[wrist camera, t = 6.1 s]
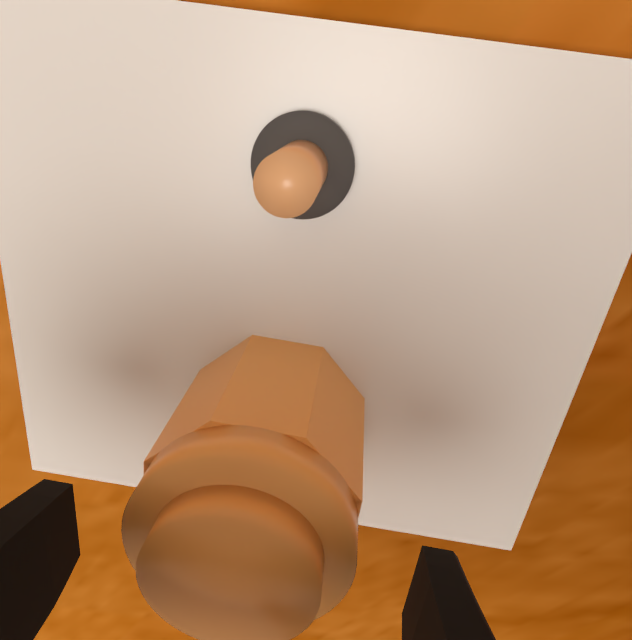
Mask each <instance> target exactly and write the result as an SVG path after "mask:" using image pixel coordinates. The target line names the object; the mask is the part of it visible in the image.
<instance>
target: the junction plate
mask: <svg viewBox="0 0 632 640" xmlns="http://www.w3.org/2000/svg"><path fill="white" fill-rule="evenodd" d="M631 253H632V59H627V58H619V57H611V56H604V55H596V54H588V53H580V52H573V51H565V50H557V49H549V48H542V47H534V46H526V45H518V44H511V43H503V42H495V41H487V40H480V39H472V38H464V37H456V36H449V35H441V34H433V33H425V32H418V31H410V30H402V29H394V28H387V27H379V26H371V25H363V24H356V23H348V22H340V21H332V20H325V19H317V18H309V17H302V16H294V15H286V14H278V13H271V12H263V11H255V10H247V9H240V8H232V7H224V6H216V5H209V4H201V3H193V2H185V1H178V0H0V261H1V267H2V274H3V280H4V287H5V293H6V300H7V307H8V313H9V320H10V326H11V333H12V339H13V346H14V352H15V359H16V365H17V372H18V379H19V385H20V392H21V398H22V405H23V411H24V418H25V424H26V431H27V437H28V444H29V451H30V457H31V464H32V470H38V471H44V472H50V473H55V474H61V475H67V476H73V477H79V478H85V479H91V480H97V481H103V482H109V483H115V484H120V485H126V486H132V487H137V485H138V484H139V482H140V480H141V479H142V477H143V475H144V460H145V458H146V457H147V455H148V454H149V452H150V450H151V449H152V447H153V445H154V444H155V442H156V441H157V439H158V437H159V436H160V434H161V432H162V431H163V429H164V428H165V426H166V424H167V423H168V421H169V419H170V418H171V416H172V415H173V413H174V411H175V410H176V408H177V406H178V405H179V403H180V402H181V400H182V398H183V397H184V395H185V394H186V392H187V390H188V389H189V387H190V385H191V384H192V382H193V381H194V379H195V377H196V376H197V374H198V372H199V371H200V369H202V368H203V367H205V366H206V365H208V364H209V363H211V362H212V361H214V360H215V359H217V358H218V357H220V356H221V355H223V354H224V353H226V352H227V351H229V350H230V349H232V348H233V347H235V346H236V345H238V344H239V343H241V342H242V341H244V340H245V339H247V338H248V337H250V336H251V335H257V336H263V337H268V338H274V339H280V340H286V341H291V342H297V343H303V344H309V345H314V346H320V347H324V349H325V350H326V351H327V352H328V354H329V355H330V356H331V357H332V359H333V360H334V361H335V362H336V363H337V365H338V366H339V367H340V368H341V370H342V371H343V372H344V373H345V375H346V376H347V377H348V378H349V380H350V381H351V382H352V383H353V385H354V386H355V387H356V388H357V390H358V391H359V392H360V393H361V395H362V396H363V397H364V398H365V403H364V451H363V500H362V505H361V509H360V513H359V517H358V525H363V526H369V527H375V528H381V529H387V530H392V531H398V532H404V533H410V534H416V535H422V536H428V537H434V538H440V539H446V540H452V541H457V542H463V543H469V544H475V545H481V546H487V547H493V548H499V549H505V550H511V549H512V547H513V544H514V542H515V540H516V537H517V535H518V532H519V530H520V527H521V525H522V522H523V520H524V517H525V515H526V512H527V510H528V507H529V505H530V502H531V500H532V498H533V495H534V493H535V490H536V488H537V485H538V483H539V480H540V478H541V475H542V473H543V470H544V468H545V465H546V463H547V460H548V458H549V456H550V453H551V451H552V448H553V446H554V443H555V441H556V438H557V436H558V433H559V431H560V428H561V426H562V423H563V421H564V418H565V416H566V414H567V411H568V409H569V406H570V404H571V401H572V399H573V396H574V394H575V391H576V389H577V386H578V384H579V381H580V379H581V376H582V374H583V372H584V369H585V367H586V364H587V362H588V359H589V357H590V354H591V352H592V349H593V347H594V344H595V342H596V339H597V337H598V334H599V332H600V330H601V327H602V325H603V322H604V320H605V317H606V315H607V312H608V310H609V307H610V305H611V302H612V300H613V297H614V295H615V292H616V290H617V288H618V285H619V283H620V280H621V278H622V275H623V273H624V270H625V268H626V265H627V263H628V260H629V258H630V255H631Z"/></svg>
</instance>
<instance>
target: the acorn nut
mask: <svg viewBox="0 0 632 640" xmlns="http://www.w3.org/2000/svg"><path fill="white" fill-rule="evenodd" d="M364 403H365V398H364V397H363V396H362V395H361V393H360V392H359V391H358V390H357V388H356V387H355V386H354V385H353V383H352V382H351V381H350V380H349V378H348V377H347V376H346V375H345V373H344V372H343V371H342V370H341V368H340V367H339V366H338V365H337V363H336V362H335V361H334V360H333V359H332V357H331V356H330V355H329V354H328V352H327V351H326V350H325V349H324V347H320V346H314V345H309V344H303V343H297V342H291V341H286V340H280V339H274V338H268V337H263V336H257V335H251V336H250V337H248V338H247V339H245V340H244V341H242V342H241V343H239V344H238V345H236V346H235V347H233V348H232V349H230V350H229V351H227V352H226V353H224V354H223V355H221V356H220V357H218V358H217V359H215V360H214V361H212V362H211V363H209V364H208V365H206V366H205V367H203V368H202V369H200V371H199V372H198V374H197V376H196V377H195V379H194V381H193V382H192V384H191V385H190V387H189V389H188V390H187V392H186V394H185V395H184V397H183V398H182V400H181V402H180V403H179V405H178V406H177V408H176V410H175V411H174V413H173V415H172V416H171V418H170V419H169V421H168V423H167V424H166V426H165V428H164V429H163V431H162V432H161V434H160V436H159V437H158V439H157V441H156V442H155V444H154V445H153V447H152V449H151V450H150V452H149V454H148V455H147V457H146V458H145V460H144V475H143V477H142V479H141V480H140V482H139V484H138V485H137V487H136V489H135V490H134V492H133V494H132V495H131V497H130V499H129V501H128V503H127V505H126V508H125V510H124V514H123V518H122V539H123V544H124V548H125V551H126V554H127V556H128V558H129V561H130V563H131V565H132V566H133V568H134V569H135V571H136V578H137V582H138V585H139V588H140V590H141V592H142V595H143V596H144V598H145V599H146V601H147V603H148V604H149V605H150V606H151V608H152V609H153V610H154V611H155V612H156V613H157V614H158V615H159V616H160V617H161V618H162V619H164V620H165V621H166V622H168V623H169V624H170V625H172V626H173V627H175V628H176V629H178V630H180V631H182V632H183V633H185V634H187V635H189V636H192V637H194V638H196V639H199V640H290V639H292V638H294V637H296V636H297V635H299V634H300V633H302V632H303V631H304V630H305V629H306V628H308V627H309V625H310V624H311V623H312V622H313V620H315V619H317V618H320V617H321V616H323V615H324V614H326V613H327V612H329V611H330V610H332V609H333V608H334V607H335V606H336V605H337V604H338V603H339V602H340V601H341V600H342V599H343V598H344V596H345V595H346V594H347V592H348V590H349V589H350V587H351V585H352V582H353V579H354V577H355V573H356V566H357V544H358V517H359V513H360V509H361V505H362V500H363V451H364Z"/></svg>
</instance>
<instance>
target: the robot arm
mask: <svg viewBox="0 0 632 640" xmlns="http://www.w3.org/2000/svg"><path fill="white" fill-rule="evenodd" d="M79 556H80V548H79V539H78V530H77V520H76V511H75V502H74V493H73V484H68V483H63V482H57V481H51V480H46V479H44V480H42V481H41V482H39V483H38V484H36V485H35V486H33V487H32V488H30V489H29V490H27V491H26V492H24V493H23V494H21V495H20V496H19V497H17V498H16V499H14V500H13V501H11V502H10V503H8V504H7V505H5V506H4V507H2V508H1V509H0V640H33V639H34V638H35V636H36V635H37V633H38V631H39V630H40V628H41V627H42V625H43V624H44V622H45V620H46V619H47V617H48V616H49V614H50V612H51V611H52V609H53V608H54V606H55V604H56V602H57V600H58V598H59V596H60V594H61V593H62V591H63V589H64V587H65V585H66V583H67V581H68V579H69V577H70V575H71V573H72V571H73V568H74V566H75V564H76V562H77V560H78V558H79ZM402 640H496V639H495V637H494V635H493V633H492V631H491V629H490V627H489V625H488V623H487V621H486V619H485V617H484V615H483V613H482V611H481V609H480V606H479V604H478V602H477V600H476V598H475V596H474V594H473V592H472V589H471V587H470V585H469V583H468V581H467V578H466V576H465V574H464V571H463V569H462V567H461V565H460V562H459V560H458V557H457V556H456V554H455V553H454V552H453V551H450V550H444V549H438V548H432V547H427V546H422V548H421V552H420V555H419V558H418V562H417V565H416V569H415V572H414V575H413V579H412V582H411V585H410V589H409V592H408V595H407V599H406V602H405V606H404V609H403V612H402Z"/></svg>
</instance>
